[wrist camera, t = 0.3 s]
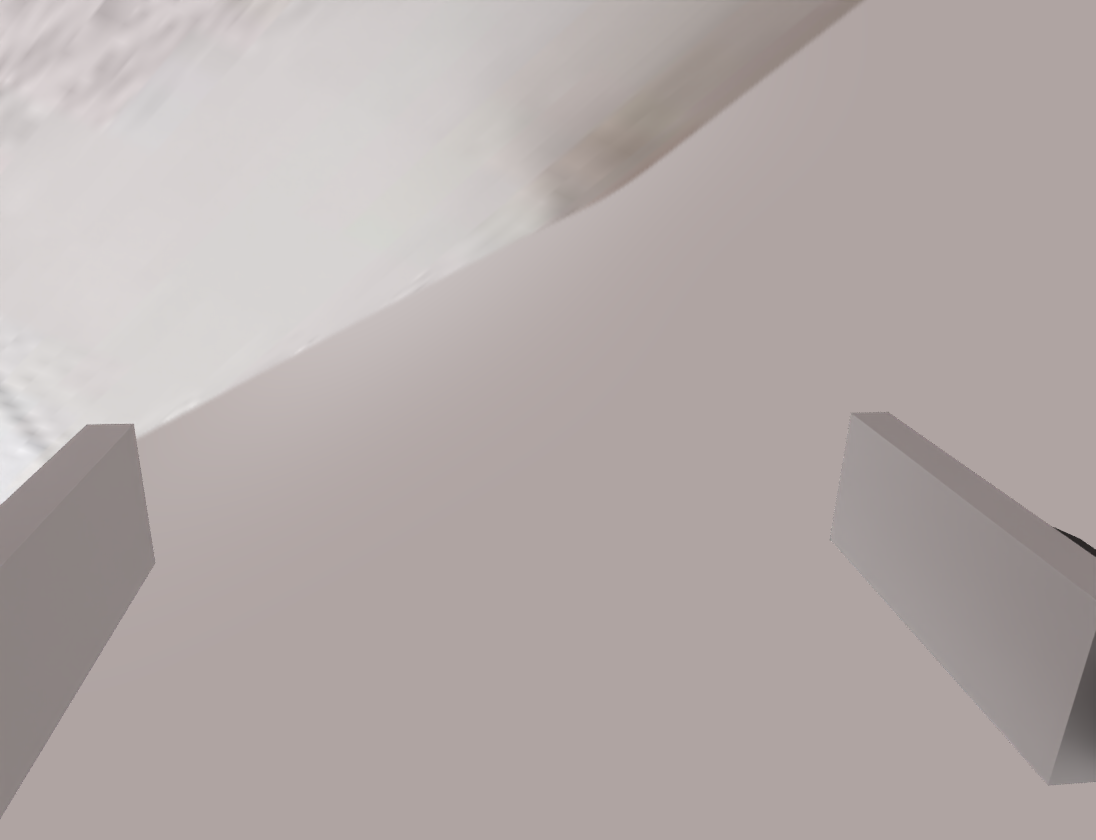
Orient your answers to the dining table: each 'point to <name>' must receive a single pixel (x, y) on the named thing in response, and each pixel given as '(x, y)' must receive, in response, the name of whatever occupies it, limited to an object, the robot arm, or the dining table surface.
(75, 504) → the robot arm
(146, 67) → the dining table surface
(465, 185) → the dining table surface
